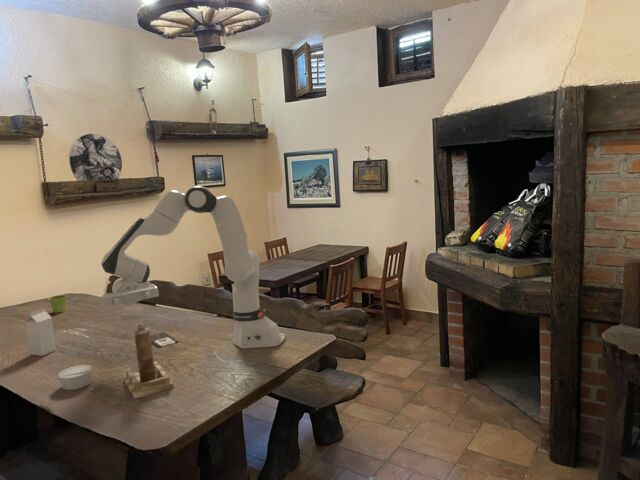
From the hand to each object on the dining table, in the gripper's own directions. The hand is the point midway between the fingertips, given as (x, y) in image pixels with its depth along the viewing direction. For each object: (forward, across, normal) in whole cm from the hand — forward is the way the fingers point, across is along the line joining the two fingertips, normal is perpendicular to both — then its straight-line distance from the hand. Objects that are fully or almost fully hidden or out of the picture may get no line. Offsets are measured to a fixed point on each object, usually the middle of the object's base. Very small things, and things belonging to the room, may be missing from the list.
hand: (133, 299), depth 172 cm
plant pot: (-126, -24, +26) cm, 131 cm away
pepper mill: (+12, -1, +27) cm, 29 cm away
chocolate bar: (-34, +13, +29) cm, 46 cm away
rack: (+12, -1, +28) cm, 31 cm away
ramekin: (-5, -22, +28) cm, 36 cm away
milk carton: (-52, -33, +27) cm, 67 cm away
